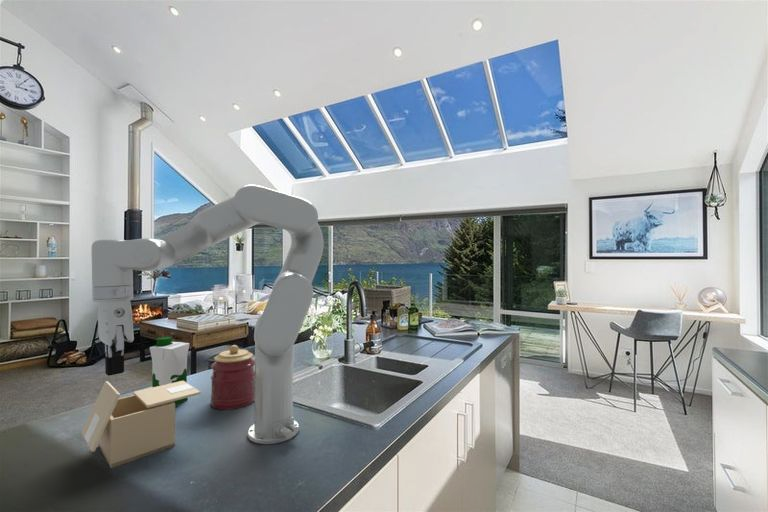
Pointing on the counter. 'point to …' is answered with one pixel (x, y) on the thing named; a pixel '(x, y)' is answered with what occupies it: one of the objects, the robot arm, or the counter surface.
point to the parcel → (137, 431)
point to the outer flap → (100, 415)
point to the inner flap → (166, 393)
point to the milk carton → (169, 363)
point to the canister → (233, 379)
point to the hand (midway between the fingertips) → (114, 373)
